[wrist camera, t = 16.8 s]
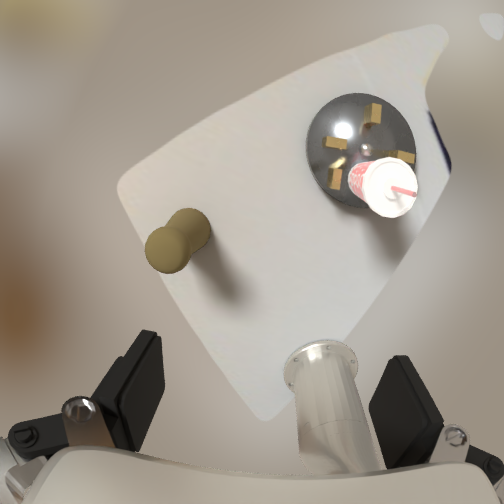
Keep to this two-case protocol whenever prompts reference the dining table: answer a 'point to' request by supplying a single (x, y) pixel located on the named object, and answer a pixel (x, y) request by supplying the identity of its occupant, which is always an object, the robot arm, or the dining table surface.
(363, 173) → the beverage cup
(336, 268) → the dining table surface
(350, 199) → the gold studded metal disc
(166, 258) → the cork
